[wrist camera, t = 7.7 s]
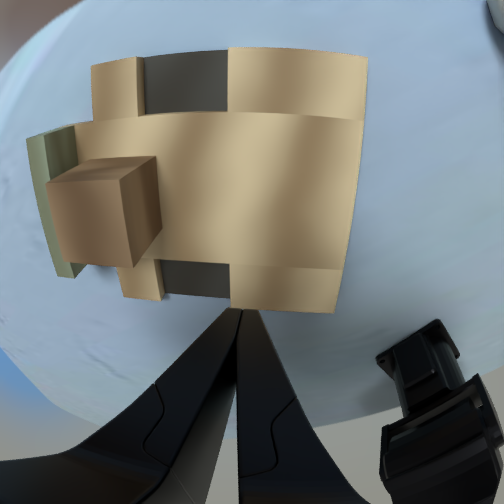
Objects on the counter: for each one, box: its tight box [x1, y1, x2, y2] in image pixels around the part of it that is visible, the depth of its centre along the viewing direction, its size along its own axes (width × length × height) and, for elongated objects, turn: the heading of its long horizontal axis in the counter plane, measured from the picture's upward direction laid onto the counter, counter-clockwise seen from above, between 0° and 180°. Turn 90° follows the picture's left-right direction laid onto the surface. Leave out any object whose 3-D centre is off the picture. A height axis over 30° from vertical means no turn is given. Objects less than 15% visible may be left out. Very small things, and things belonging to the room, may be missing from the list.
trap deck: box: [26, 47, 368, 313], centre depth 16 cm, size 18×16×4 cm
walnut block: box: [45, 156, 163, 268], centre depth 16 cm, size 4×4×4 cm
